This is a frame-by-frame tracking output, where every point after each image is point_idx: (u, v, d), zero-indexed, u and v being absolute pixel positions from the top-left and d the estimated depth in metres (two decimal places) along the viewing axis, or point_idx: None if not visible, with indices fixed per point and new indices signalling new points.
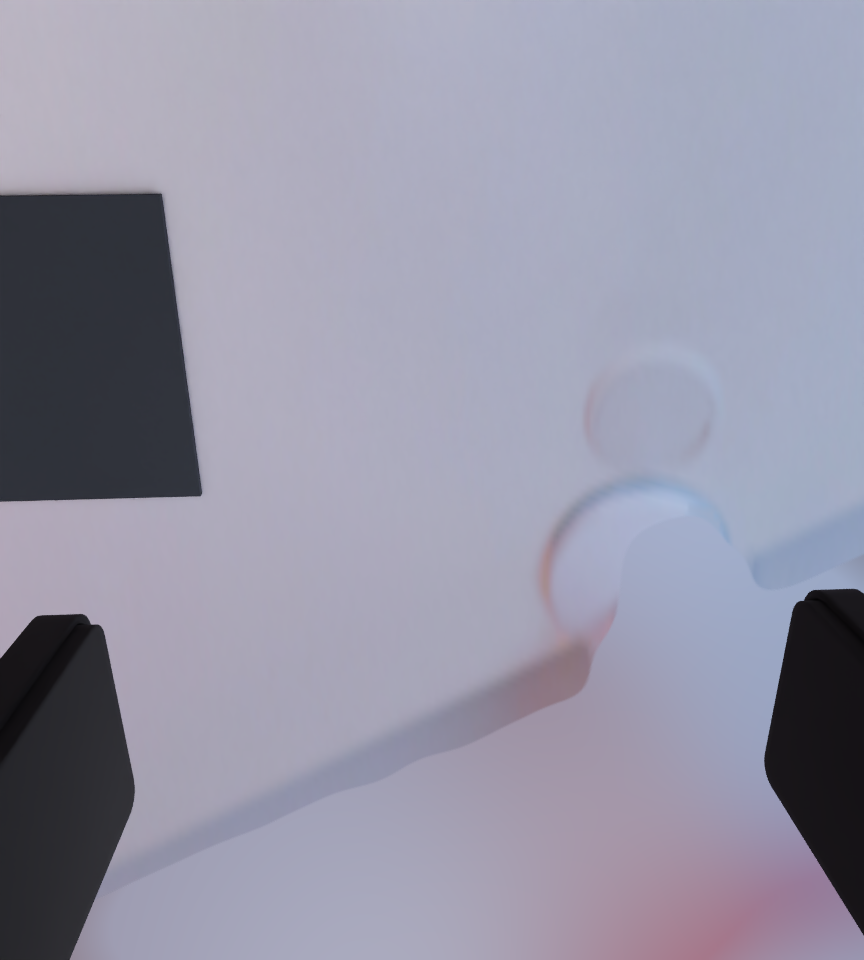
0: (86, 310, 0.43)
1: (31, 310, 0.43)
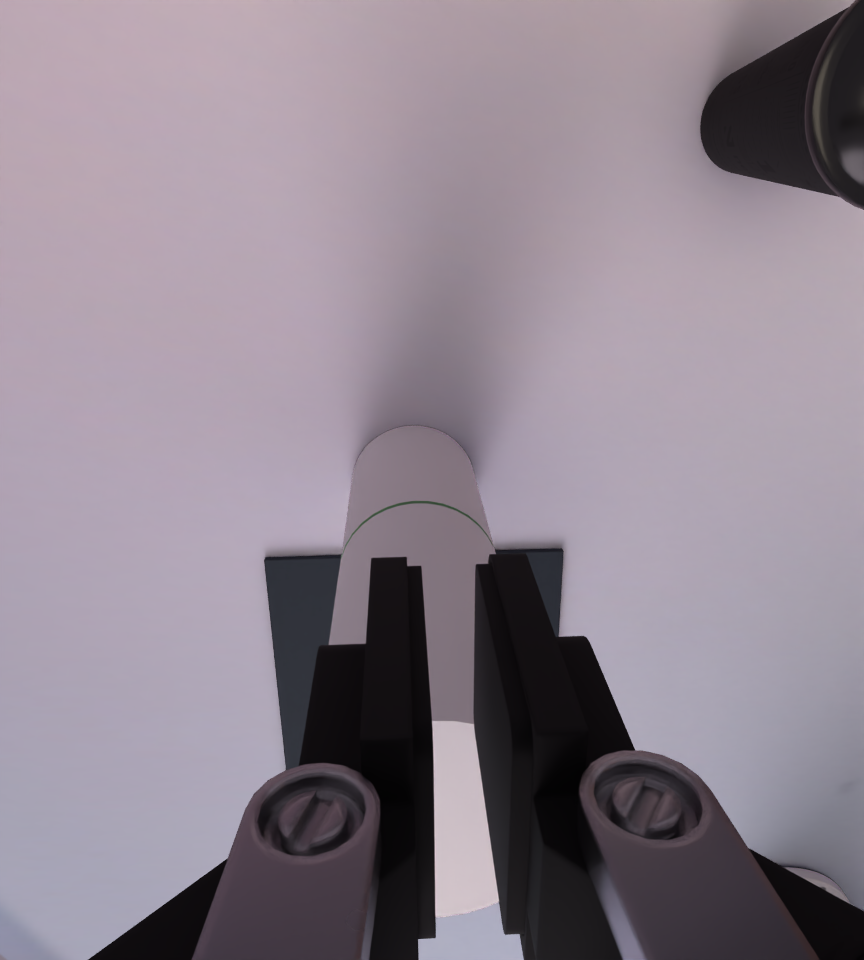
0: None
1: None
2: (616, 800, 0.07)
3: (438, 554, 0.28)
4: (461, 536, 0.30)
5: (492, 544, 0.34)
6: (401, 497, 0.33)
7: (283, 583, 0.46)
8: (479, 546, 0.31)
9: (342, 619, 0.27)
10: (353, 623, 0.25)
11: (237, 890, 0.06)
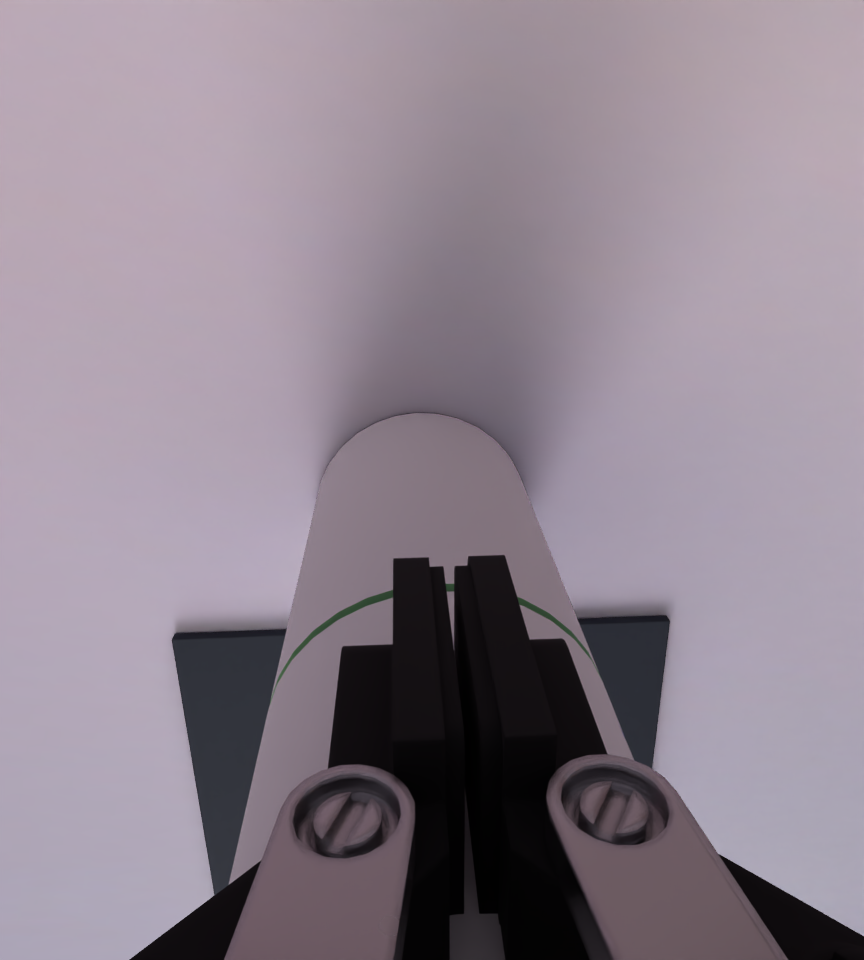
0: None
1: None
2: (583, 806, 0.07)
3: None
4: None
5: (598, 671, 0.16)
6: None
7: (205, 675, 0.27)
8: None
9: None
10: None
11: (276, 892, 0.06)
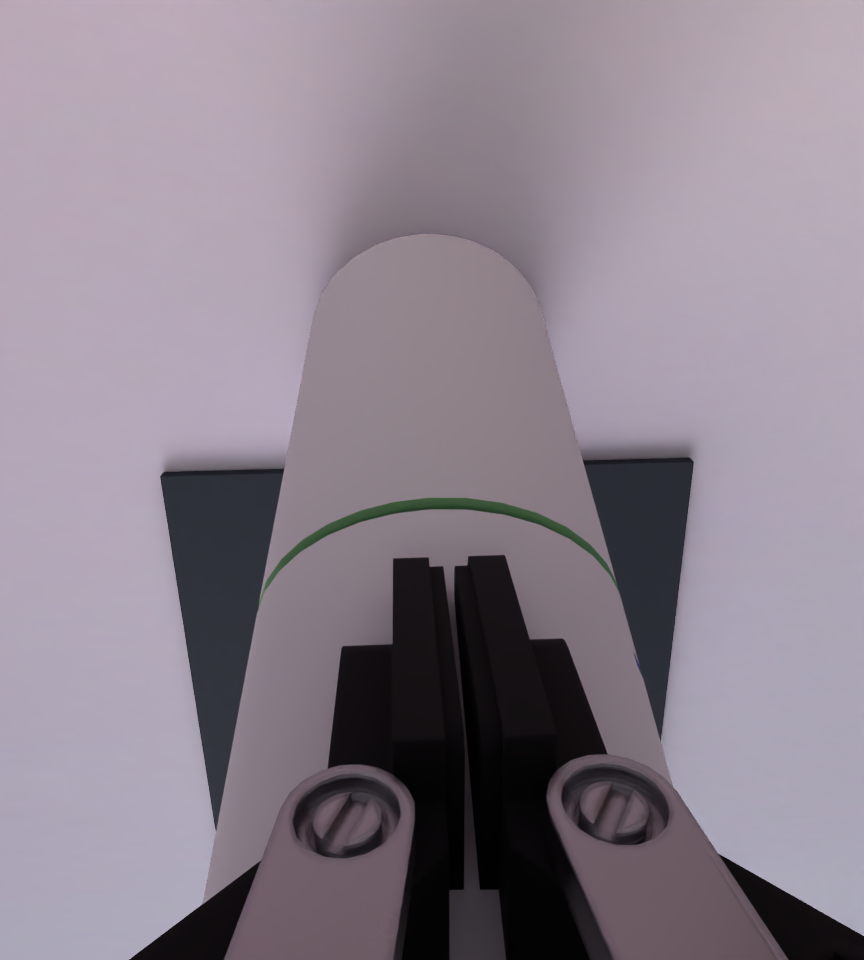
0: None
1: None
2: (584, 806, 0.07)
3: None
4: None
5: (615, 581, 0.14)
6: (399, 480, 0.13)
7: (196, 518, 0.26)
8: (607, 662, 0.11)
9: None
10: None
11: (276, 892, 0.06)
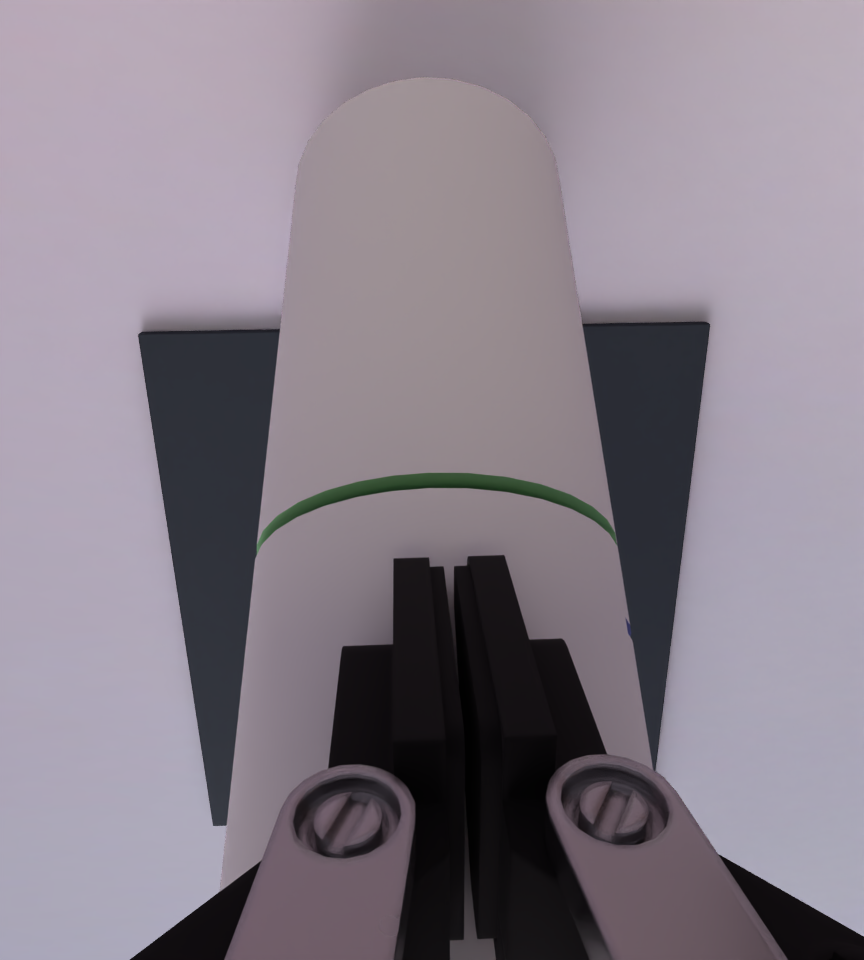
0: None
1: None
2: (583, 806, 0.07)
3: None
4: None
5: (614, 532, 0.14)
6: (398, 446, 0.12)
7: (176, 383, 0.24)
8: (599, 652, 0.12)
9: None
10: None
11: (276, 892, 0.06)
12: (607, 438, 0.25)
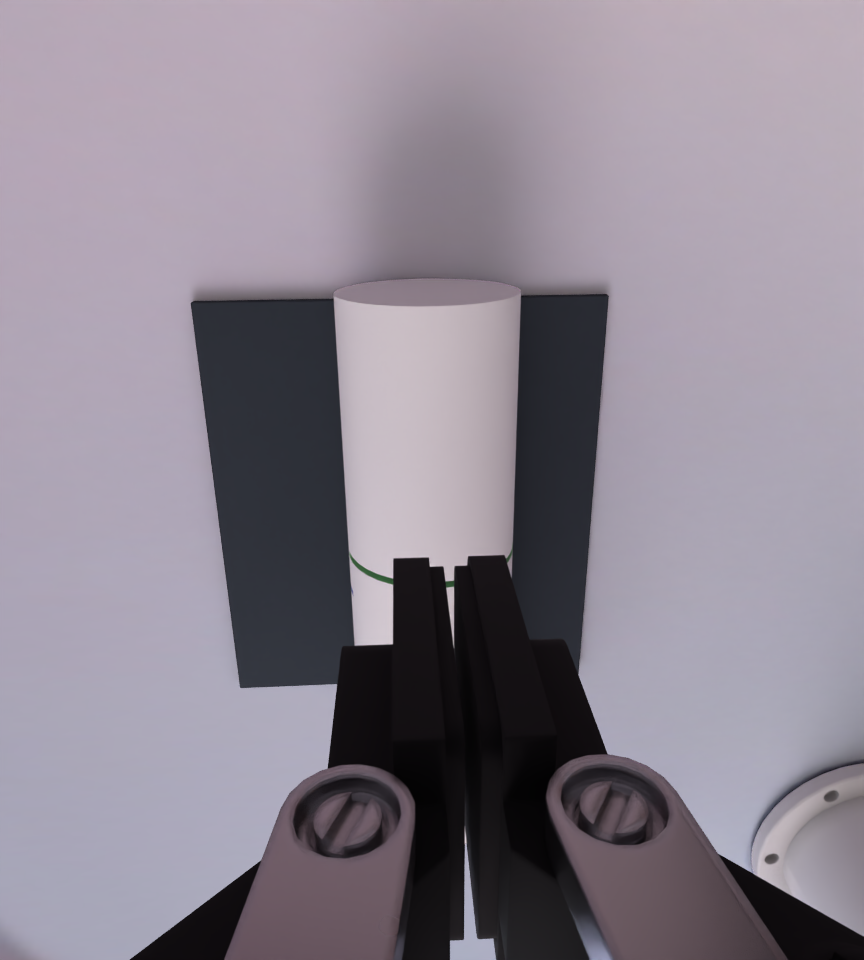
0: None
1: None
2: (583, 806, 0.07)
3: None
4: None
5: (512, 543, 0.33)
6: None
7: (218, 339, 0.33)
8: None
9: None
10: None
11: (276, 892, 0.06)
12: (536, 381, 0.34)
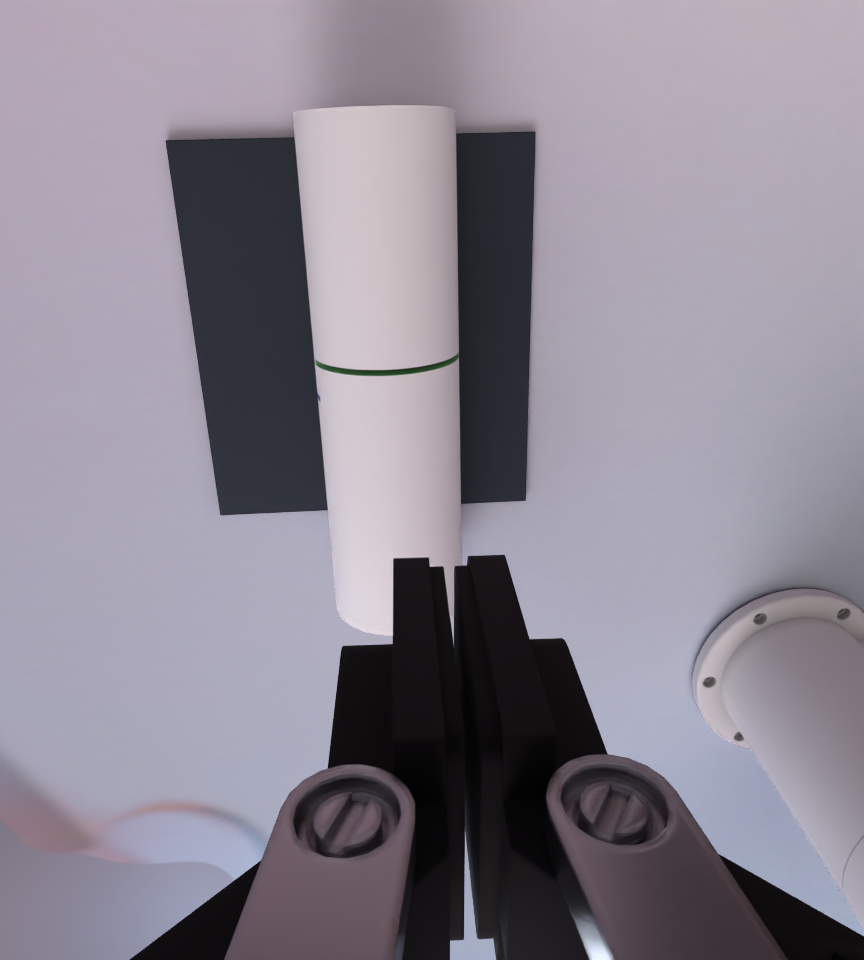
0: None
1: None
2: (583, 806, 0.07)
3: (427, 465, 0.36)
4: (444, 418, 0.36)
5: None
6: (396, 357, 0.34)
7: (191, 175, 0.37)
8: (453, 411, 0.37)
9: (352, 506, 0.37)
10: (365, 528, 0.37)
11: (275, 892, 0.06)
12: (474, 214, 0.38)
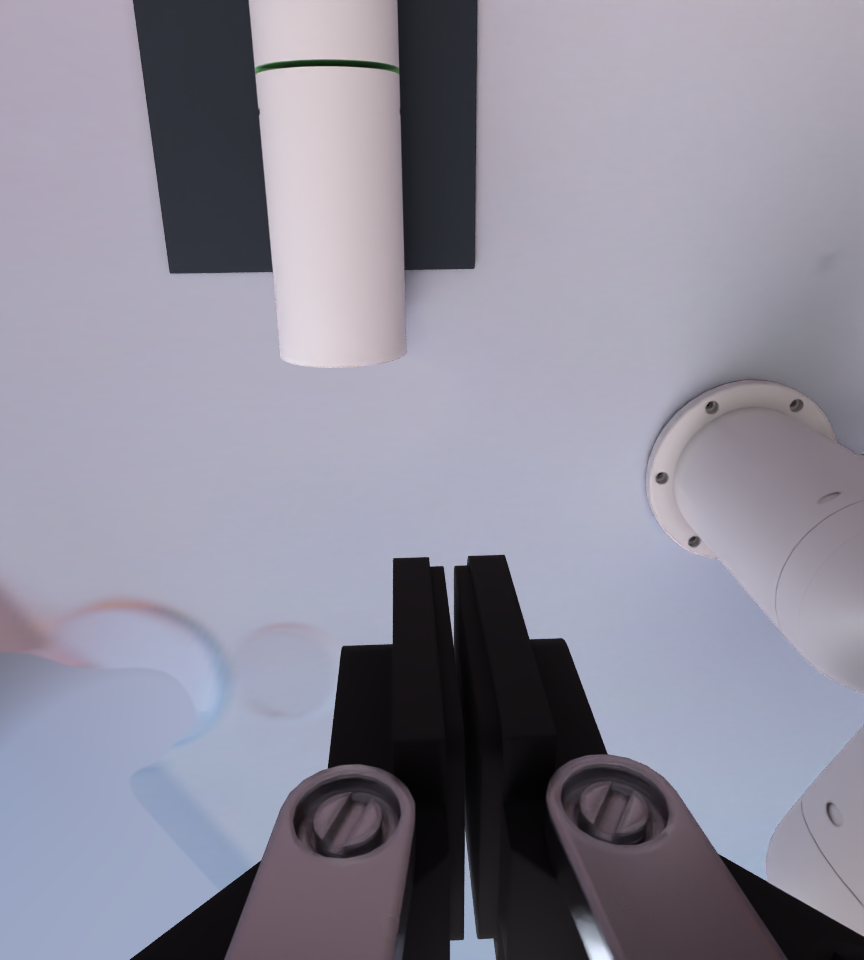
0: None
1: None
2: (583, 806, 0.07)
3: (364, 175, 0.37)
4: (381, 127, 0.37)
5: (398, 69, 0.38)
6: (330, 45, 0.34)
7: None
8: (391, 126, 0.37)
9: (290, 220, 0.37)
10: (303, 244, 0.38)
11: (276, 892, 0.06)
12: None
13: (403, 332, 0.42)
